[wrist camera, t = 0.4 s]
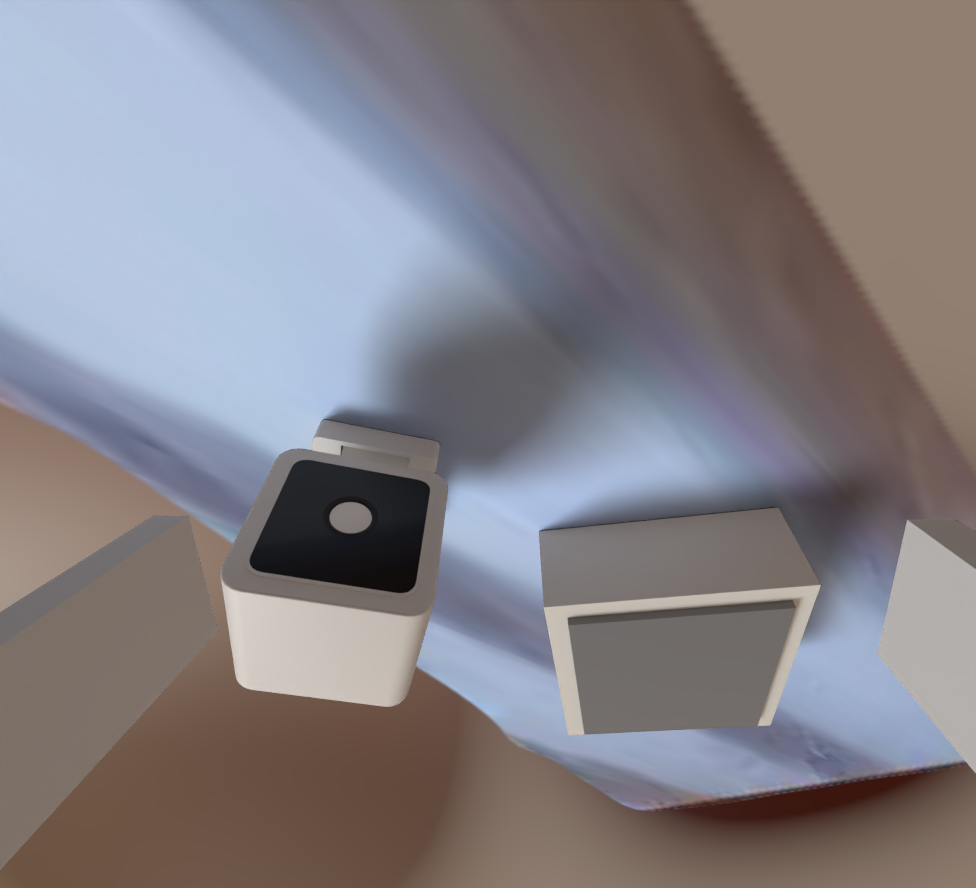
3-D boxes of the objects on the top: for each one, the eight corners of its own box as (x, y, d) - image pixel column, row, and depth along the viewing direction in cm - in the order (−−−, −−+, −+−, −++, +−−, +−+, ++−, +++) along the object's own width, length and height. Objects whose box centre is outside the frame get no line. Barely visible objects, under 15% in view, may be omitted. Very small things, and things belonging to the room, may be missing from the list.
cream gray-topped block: (538, 531, 28) (544, 615, 24) (778, 507, 26) (825, 592, 22) (562, 664, 37) (569, 742, 33) (743, 652, 35) (773, 732, 31)
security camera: (456, 417, 23) (433, 618, 16) (431, 521, 28) (403, 719, 20) (311, 388, 23) (210, 585, 15) (308, 500, 27) (229, 697, 19)
